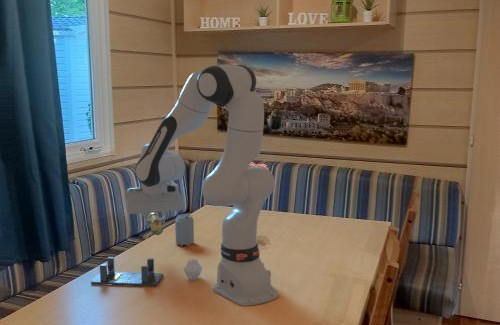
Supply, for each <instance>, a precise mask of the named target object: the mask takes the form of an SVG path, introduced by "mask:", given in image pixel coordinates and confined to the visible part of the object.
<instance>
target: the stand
mask: <svg viewBox="0 0 500 325" xmlns="http://www.w3.org/2000/svg"><path fill="white" fill-rule="evenodd" d="M154 259H155V258H147V259H146V261H147V262H146V263H147V264H146V265H141V267H140V268H141V272H133V271H129V272H128V271H115V270H116V269H115V257H112V256H108V257H107V259H106V260H107V262H106V263H107V264H105V263H104V264H100V265H99V273H98V274H97V275H96V276H95V277H94V278H93V279H92V280H91V281H90V285H91V284H112V285H111V286H117V285H132V286H131V287H144V286H154V287H153V288H157V287H156V286H158V285H159V284H158V283H160V282H161V281H162V279H163V278H164V273H161V272H159V273H156V272H155V260H154ZM162 277H163V278H162ZM161 278H162V279H161ZM160 280H161V281H160Z"/></svg>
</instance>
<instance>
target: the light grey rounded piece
mask: <svg viewBox="0 0 500 325" xmlns="http://www.w3.org/2000/svg"><path fill="white" fill-rule="evenodd" d="M183 270H184V271H183V272H184V274H185V275H186V277H187V279H188V280H189V281H196V280H197V279H199V277H200V275H201V273H202V270H203V266H202V265H201V264H200V262H199V260H198V259H196V258H191V259H188V260H187V263H186V264H185V266H184V268H183Z"/></svg>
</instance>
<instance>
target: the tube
mask: <svg viewBox="0 0 500 325" xmlns="http://www.w3.org/2000/svg"><path fill="white" fill-rule="evenodd" d="M160 218H161V217H160V216H159V212H153V213H148V216H147V219H150V224H149V226H150V229H151V233H152V234H153V235H154V236H155V235H156V236H159V235H160V236H161V235H162V233H163V232H164V226H163V224H162V223H161V220H160Z"/></svg>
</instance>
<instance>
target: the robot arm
mask: <svg viewBox="0 0 500 325" xmlns="http://www.w3.org/2000/svg"><path fill="white" fill-rule="evenodd" d="M256 86H257V78H256V74H255V73H254V71H253V70H252V69H251V68H250V67H248V66H246V65H243V64H236V65H235V64H218V65H210V66H208V67H206V68H204V69H203V70H196V71H194V72H192V73H191V74H190V76H189V77H188V78H187V79H186V82H185V84H184V86H183V87H182V90H181V92H180V94H179V96H178V99H177V101H176V103H175V105H174V107H173V108H172V110H171V111H170V113H168V115H167V116H166V117H165V118H164V119H163V120H162V121H161V123H160V124H159V126H158V127H157V130H156V131H155V133H154V135H153V137H152V139H151V141H150V142H149V143H146V144H144V145H143V146H142V147H141V151H140V158H139V159H138V161H137V163H136V165H135V171H134V173H135V176H136V179H137V180H138V181H139V182H140V183H141V187H130V188H128V189H126V190H125V192H124V199H125V201H126V208H125V209H126V213H127V214H128V215H134V214H137V215H138V214H142V217H143V219H144V220H145V225H146V226H147V225H149V226H150V219H148V217H147V214H149V213H153V212H157V213H163V216H162V217H159V218H160V221H161V223H162V225H163V224H165V223H166V218H167V216H168V212H179V211H182V210H183V209H184V205H183V197H182V195H181V193H180V191H179V190H180V188H179V187H180V186H179V185H178V184H177V183H176V182H173V181H177V180H180V179H182V178H184V176H185V173H186V172H187V164H186V161H185V159H184V157H183V156H182V155H181V154H179V153H175V152H173V151H171V150H170V149H169V148H170V146H171V145H172V143H174V141H175V140H177V139H178V138H180V137H182V136H184V135H186V134H189V133H191V132H194V131H196V130H198V129H199V128H201V127H202V126H203V125H204V124H205V122H206V121H207V119H208V117H209V115H210V113H211V110H212V108H213V105H214V104H215V105H216V106H218V107H220V108H222V107H226V108H227V111H228V118H227V119H228V120H227V127H226V129H227V130H226V138H225V145H224V148H223V152H222V155H221V158H220V159H219V161H218V163H217V164H216V166H215V167H214V168H213V170H212V171H210V173H209V174H208V175H207V176H205V177H204V180H203V182H202V185H201V194H202V197H203V198H204V200H205V201H206V202H207V204H209V205H210V206H217V207H219V206H220V207H228V206H232V205H234V206H233V207H232V210H231V211H230V212H229V213H228V214H227V215H226V216H225V217H224V219H223V220H222V224H221V226H222V228H221V229H222V230H221V231H222V232H221V233H222V237H221V239H222V241H221V242H222V243H221V244H220V245H221V246H220V254H221V259H220V261H219V262H218V264H217V272H216V273H217V274H216V284H215V285H214V286H213V288H212V291H213V292H215V293H217V294H218V295H221V296H222V297H224V298H226V299H228V300H230V301H231V302H234V303H235V304H237V305H239V306H246V307H247V306H256V305H260V304H265V303H269V302H271V301H274V300H276V299H277V298H278V297H279V291H277V290H276V289H275V287H273V285H271V284H272V282H271V277H272V273H271V270H270V269H267V268H266V267H265V263H263V262H262V260H261V259H260V254H261V253H260V252H261V251H260V249H259V245H258V242H257V232H258V231H257V230H258V221H259V220H258V219H259V217H260V214H261V210H262V208H263V207H264V204H265V202H266V200H267V199H268V198H269V197H270V196H271V195H272V194H273V193H274V189H275V185H276V182H275V177H274V174H273V173H272V172H271V170H269V169H268V168H266V167H259V166H251V167H249V166H250V165H251V163H253V161H254V160H256V159H257V158H258V157H259V155H260V154H261V152H262V144H263V143H262V142H263V134H264V126H265V124H264V123H265V109H264V108H265V107H264V99H263V97H262V96H261V95H260V94H258V93H257V92H254V91H255V89H256Z"/></svg>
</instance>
